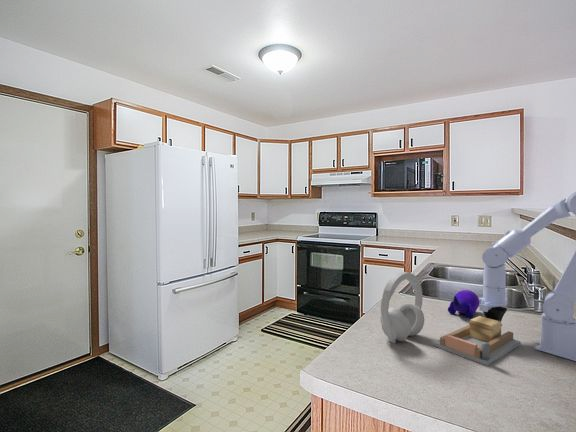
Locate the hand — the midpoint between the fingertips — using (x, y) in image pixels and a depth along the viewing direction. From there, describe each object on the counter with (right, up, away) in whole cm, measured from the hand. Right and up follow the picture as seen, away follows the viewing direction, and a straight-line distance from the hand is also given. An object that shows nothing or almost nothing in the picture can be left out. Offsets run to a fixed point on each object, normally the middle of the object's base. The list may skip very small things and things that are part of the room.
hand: (493, 330), depth 97 cm
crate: (-5, -1, -3) cm, 6 cm away
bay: (-9, -2, -6) cm, 11 cm away
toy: (+2, -2, +21) cm, 21 cm away
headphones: (-28, -2, -1) cm, 28 cm away
